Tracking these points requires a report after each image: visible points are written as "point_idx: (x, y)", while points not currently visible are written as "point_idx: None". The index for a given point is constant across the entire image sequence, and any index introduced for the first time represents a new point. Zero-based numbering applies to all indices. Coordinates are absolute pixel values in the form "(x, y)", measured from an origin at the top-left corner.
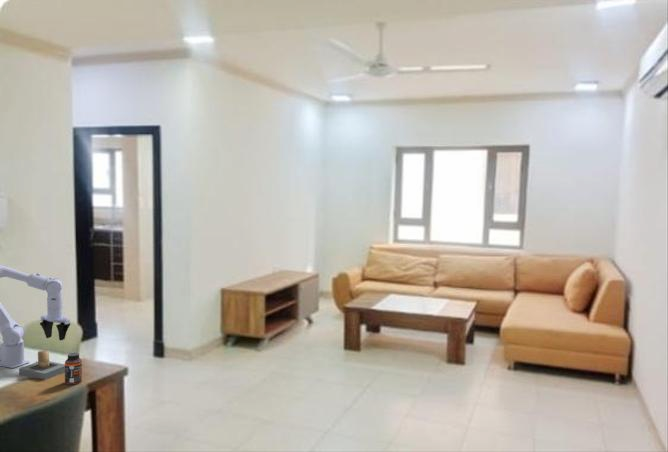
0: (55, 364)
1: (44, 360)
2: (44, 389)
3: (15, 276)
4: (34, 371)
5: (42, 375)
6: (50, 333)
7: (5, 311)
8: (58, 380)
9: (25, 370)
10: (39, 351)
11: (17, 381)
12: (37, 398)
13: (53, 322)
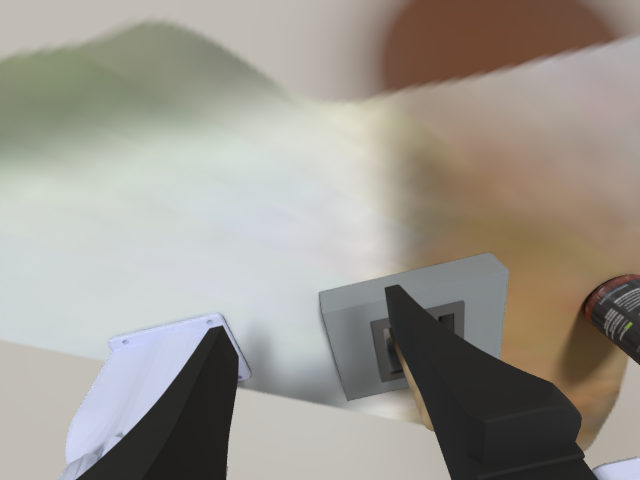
0: (455, 309)
1: None
2: (552, 372)
3: None
4: None
5: None
6: (217, 362)
7: None
8: (537, 320)
9: (384, 389)
10: (427, 423)
11: (406, 396)
12: (582, 401)
13: (151, 468)
